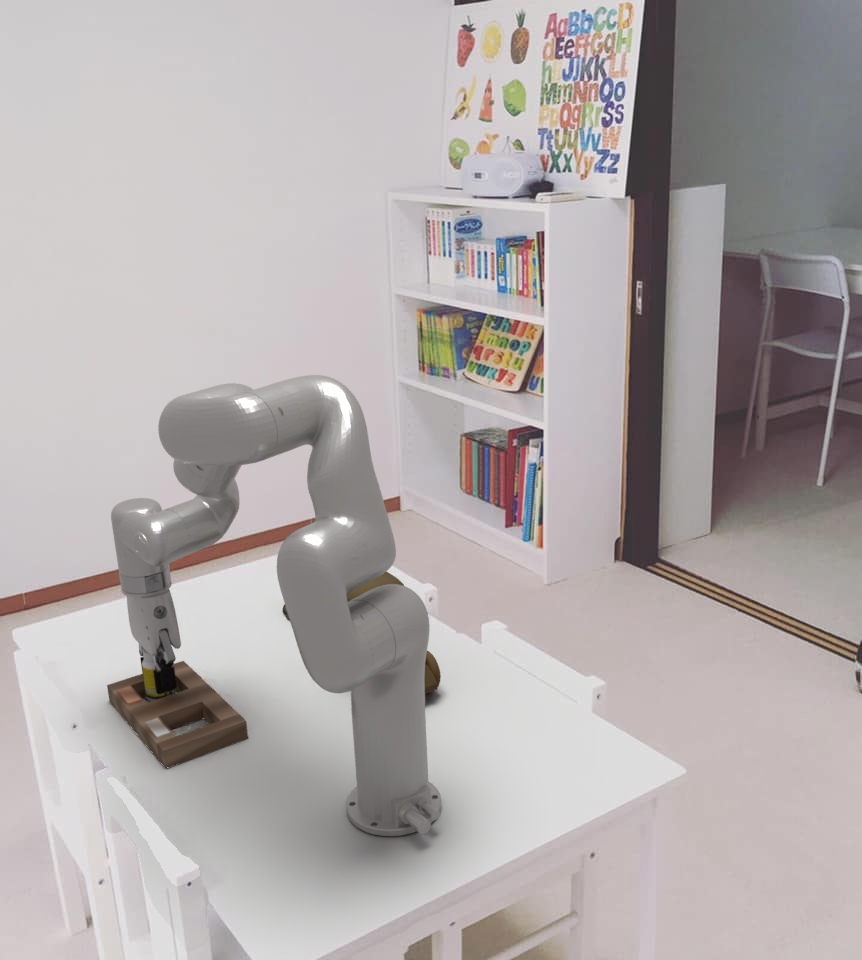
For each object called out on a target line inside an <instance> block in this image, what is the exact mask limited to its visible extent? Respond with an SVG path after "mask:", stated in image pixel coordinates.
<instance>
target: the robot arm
mask: <svg viewBox="0 0 862 960" xmlns="http://www.w3.org/2000/svg"><path fill="white" fill-rule="evenodd" d="M158 437H159V440H160V444H161V446H162V447H163V449H164V450H165V452H166V453H167V454H168V455H169V456H170V457H171V458H172V459H174V460H173V472H174V475H175V477H176V479H177V481H178V483H179V484H181V486H183V487H184V488H185V490H188V491H189V492H191V493H192V494H195V495H196V496H195V497H194V498H193V499H190V500H187V501H185V502H181V503H179V504H176V505H173V506H171V507H168V508H164V509H162V506H161V504H160V503H159V502H158V501H156V500H155V499H152V498H146V497H138V498H136V497H135V498H130V499H126V500H124V501H121V502H119V503H117V504H116V505H114V506H113V508H112V510H111V514H110V519H111V526H112V527H111V528H112V534H113V541H114V542H113V543H114V547H115V555H116V559H117V569H118V576H119V582H120V588H121V593H122V594H123V595H124V596H125V597H126V605H127V615H128V621H129V622H128V623H129V627H130V632H131V635H132V637H133V639H134V640H135V641H136V642H137V643H138V653H139V656H140V665H141V667H142V661H143V660H144V658H143V648H144V649H145V650H146V651H147V652H148V653H150V654H151V655H152V657H153V662H154V666H155V670H154V671H153V673H154V681H155V688H156V692H157V694H162V693H165V692H168V691H171V690H174V689H176V687H177V685H176V678H175V670H174V664H175V661H176V654H175V652H174V649H177V650H178V649H180V648H181V646H182V640H181V634H180V630H179V629H180V628H179V623H178V618H177V613H176V608H175V604H174V601H173V596H172V593H171V590H170V588H171V587H172V584H173V583H172V576H171V567H170V564H171V563H173V562H176V561H178V560H180V559H183V558H184V557H186V556H189V555H191V554H193V553H196V552H199V551H201V550H204V549H206V548H209V547H210V546H213V545H215V544H216V543H217V542H219V541H220V540H221V539H222V538H223V537H224V535H225V534H226V533H227V532H228V531H229V529H230V527H231V525H232V524H233V522H234V520H235V518H236V516H237V514H238V512H239V509H240V502H241V501H240V491H239V485H238V483H237V482H236V479H235V478H236V477H237V475H238V473H239V470H241V467H242V466H244V465H250V464H256V463H259V462H263V461H266V460H268V459H270V458H273V457H276V456H280V455H281V454H284V453H287V452H289V451H292V450H296V449H297V448H300V447H303V446H306V445H308V446H311V448H312V449H311V452H310V455H309V457H308V458H309V459H308V463H307V470H306V471H307V472H306V474H307V475H306V482H307V490H308V493H309V496H310V499H311V500H310V501H311V502H312V507H313V510H314V518H315V520H314V521H313V522H312V523H310V524H308V525H305V526H303V527H300V528H299V529H297V530H294V532H292V533H290V534H289V535H288V536H287V537H286V538H285V539H284V540H283V542H282V543H281V545H280V547H279V549H278V553H277V558H276V559H277V560H276V574H277V581H278V584H279V585H278V586H279V589H280V592H281V596H282V598H283V599H282V600H283V602H284V604H285V606H286V609H287V612H288V616H289V619H290V621H289V622H290V626H291V628H292V632H293V635H294V638H295V642H296V645H297V648H298V650H299V651H298V652H299V654H300V657H301V660H302V662H303V665H304V667H305V670H306V671H307V673H308V674H309V676H310V678H312V680H313V681H314V683H315V684H317V685H318V687H320V688H321V689H322V690H324V691H326V692H329V693H333V694H343V693H344V694H345V693H348V692H350V706H351V709H350V710H351V721H352V723H351V724H352V736H353V750H354V751H353V752H354V763H355V764H354V765H355V779H356V787H355V788H353V790H352V791H351V792H350V793H349V795H348V797H347V799H346V803H345V805H346V813H347V814H346V815H347V816H348V819H349V821H350V822H351V824H352V825H354V826H355V827H357V828H358V829H359V830H361V831H363V832H365V833H368V834H371V835H374V836H375V835H376V836H381V837H397V836H398V837H401V836H404V835H405V836H407V835H410V834H413V833H416V832H417V833H418V834H420V835H425V834H427V833H428V832H429V831H430V829H431V827H432V823H433V822H434V821H436V820H439V818H440V813H441V808H442V797H441V793H440V792H439V790H438V788H437V787H436V786H435V785H434V784H433V783H431V782H430V781H429V767H428V766H429V765H428V764H429V763H428V746H427V744H428V742H427V722H426V721H427V720H426V718H427V717H426V694H425V683H424V676H425V661H426V654H427V651H428V648H429V647H428V646H429V639H430V638H429V637H430V626H431V625H430V617H429V613H428V610H427V607H426V605H425V603H424V601H423V600H422V598H421V597H420V595H418V593H416V591H415V590H413V589H411V588H410V587H408V586H406V585H404V586H402V585H398V584H388V585H383V586H379V587H376V588H374V589H371V590H369V591H367V592H365V593H363V594H362V595H360V596H358V597H356V598H354V599H352V600H350V601H348V600H347V594H348V593H350V592H352V591H354V590H355V589H357V588H359V587H361V586H363V585H365V584H367V583H368V582H370V581H372V580H374V579H376V578H377V577H379V576H381V575H382V574H384V573H385V572H386V571H387V572H389V570H390V568H392V566H393V565H394V563H395V561H396V557H397V556H396V555H397V548H396V547H397V546H396V542H395V537H394V532H393V529H392V526H391V523H390V520H389V516H388V512H387V509H386V505H385V502H384V498H383V494H382V490H381V487H380V484H379V481H378V478H377V475H376V471H375V467H374V462H373V459H372V453H371V452H372V451H371V447H370V440H369V433H368V426H367V422H366V418H365V415H364V412H363V409H362V407H361V405H360V402H359V401H358V399H357V397H356V396H355V394H353V392H352V391H351V390H350V389H349V388H348V387H347V386H346V384H343V383H342V382H341V381H339V380H338V379H335V378H333V377H330V376H327V375H321V374H320V375H319V374H309V375H303V376H297V377H292V378H289V379H285V380H280V381H277V382H274V383H271V384H268V385H265V386H262V387H261V386H260V387H258V388H255V389H254V388H252V387H250V386H248V385H245V384H242V383H235V382H233V383H230V382H229V383H223V384H218V385H214V386H211V387H207V388H204V389H203V388H202V389H200V390H196V391H192V392H190V393H186V394H183V395H178V396H177V397H175V398H173V399H172V400H170V401H169V402H167V404H166V405H165V406H164V408H163V410H162V412H161V414H160V416H159V420H158ZM159 647H161V648H162V649H161V650H158V651H156V649H158V648H159ZM173 648H174V649H173ZM163 654H164V657H163V659H161V660H160V662H159V659H158V656H159V655H163ZM141 674H143V669H142V668H141ZM143 679H144V676H143Z"/></svg>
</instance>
